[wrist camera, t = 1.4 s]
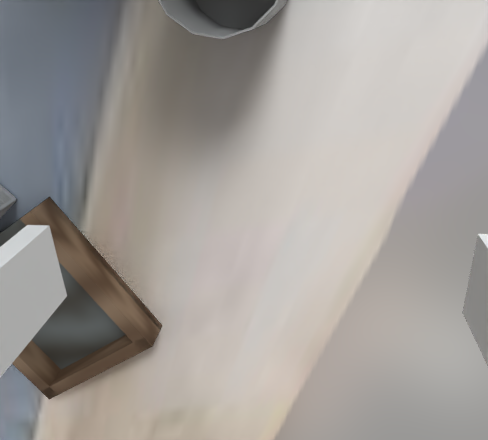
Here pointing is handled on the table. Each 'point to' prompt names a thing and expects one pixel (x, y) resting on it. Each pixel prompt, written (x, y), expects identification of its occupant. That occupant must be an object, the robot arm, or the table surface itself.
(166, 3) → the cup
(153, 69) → the table surface
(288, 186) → the table surface
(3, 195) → the coffee box
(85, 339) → the cradle
